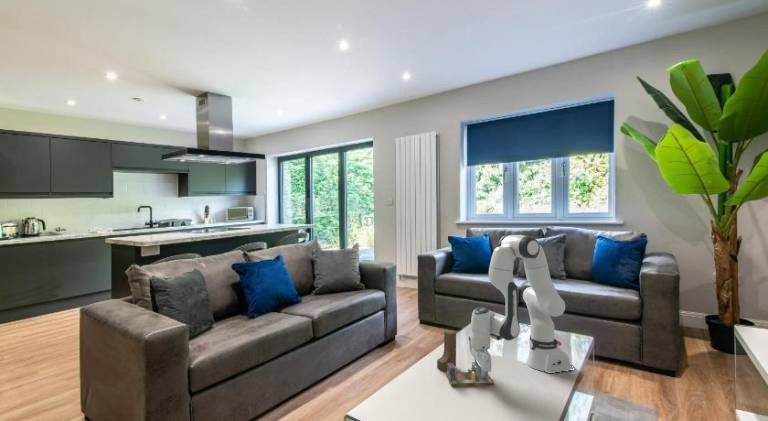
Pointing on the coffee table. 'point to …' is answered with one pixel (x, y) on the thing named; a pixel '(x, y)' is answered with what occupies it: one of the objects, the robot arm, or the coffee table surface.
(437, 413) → the coffee table surface
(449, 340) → the wooden block
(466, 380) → the bench
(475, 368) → the block
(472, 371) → the amber brick
